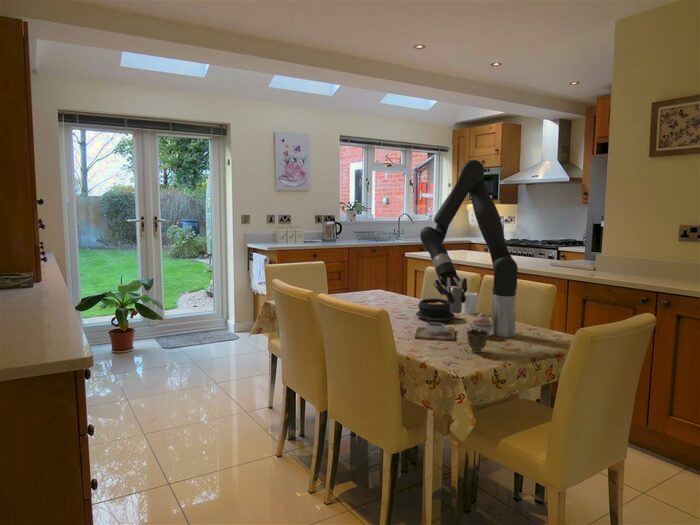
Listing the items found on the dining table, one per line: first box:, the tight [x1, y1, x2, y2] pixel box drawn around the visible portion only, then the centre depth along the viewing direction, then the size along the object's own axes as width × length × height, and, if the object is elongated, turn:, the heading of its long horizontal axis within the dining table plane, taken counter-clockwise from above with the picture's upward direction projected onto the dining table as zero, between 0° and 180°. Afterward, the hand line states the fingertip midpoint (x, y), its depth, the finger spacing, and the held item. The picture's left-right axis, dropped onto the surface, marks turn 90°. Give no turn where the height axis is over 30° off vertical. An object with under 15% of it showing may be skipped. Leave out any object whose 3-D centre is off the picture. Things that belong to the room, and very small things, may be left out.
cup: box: [466, 328, 488, 354], centre depth 179 cm, size 8×7×8 cm
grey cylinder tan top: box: [450, 285, 462, 314], centre depth 187 cm, size 4×4×10 cm
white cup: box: [461, 291, 479, 315], centre depth 246 cm, size 8×8×10 cm
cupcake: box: [469, 312, 493, 338], centre depth 202 cm, size 9×9×10 cm
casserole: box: [415, 298, 456, 322], centre depth 234 cm, size 25×19×8 cm
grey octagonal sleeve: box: [425, 321, 446, 335], centre depth 204 cm, size 8×8×4 cm
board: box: [414, 326, 456, 342], centre depth 204 cm, size 16×16×1 cm
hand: (458, 301), depth 185 cm, fingers closed on grey cylinder tan top, 4 cm apart
